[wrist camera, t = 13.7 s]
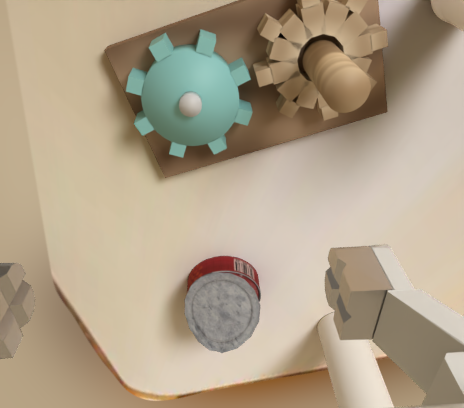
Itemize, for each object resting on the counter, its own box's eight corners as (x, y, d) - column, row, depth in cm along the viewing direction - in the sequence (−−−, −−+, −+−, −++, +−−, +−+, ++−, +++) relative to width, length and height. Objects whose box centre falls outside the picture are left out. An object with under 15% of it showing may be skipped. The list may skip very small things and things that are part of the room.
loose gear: (237, 7, 34) (247, 35, 25) (370, -40, 32) (429, -27, 24) (269, 125, 40) (286, 179, 32) (382, 90, 39) (431, 138, 30)
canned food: (193, 273, 61) (156, 316, 53) (220, 230, 55) (183, 272, 47) (254, 319, 59) (225, 370, 51) (288, 280, 53) (261, 332, 45)
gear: (105, 67, 36) (96, 79, 33) (215, 3, 34) (216, 10, 31) (172, 163, 42) (169, 180, 39) (270, 115, 40) (274, 130, 37)
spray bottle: (346, 303, 59) (420, 504, 39) (367, 325, 62) (445, 521, 42) (308, 323, 61) (359, 523, 41) (330, 343, 64) (388, 537, 44)
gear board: (107, 46, 37) (99, 56, 34) (368, -46, 34) (383, -43, 31) (166, 170, 45) (163, 187, 42) (382, 106, 41) (394, 119, 39)
